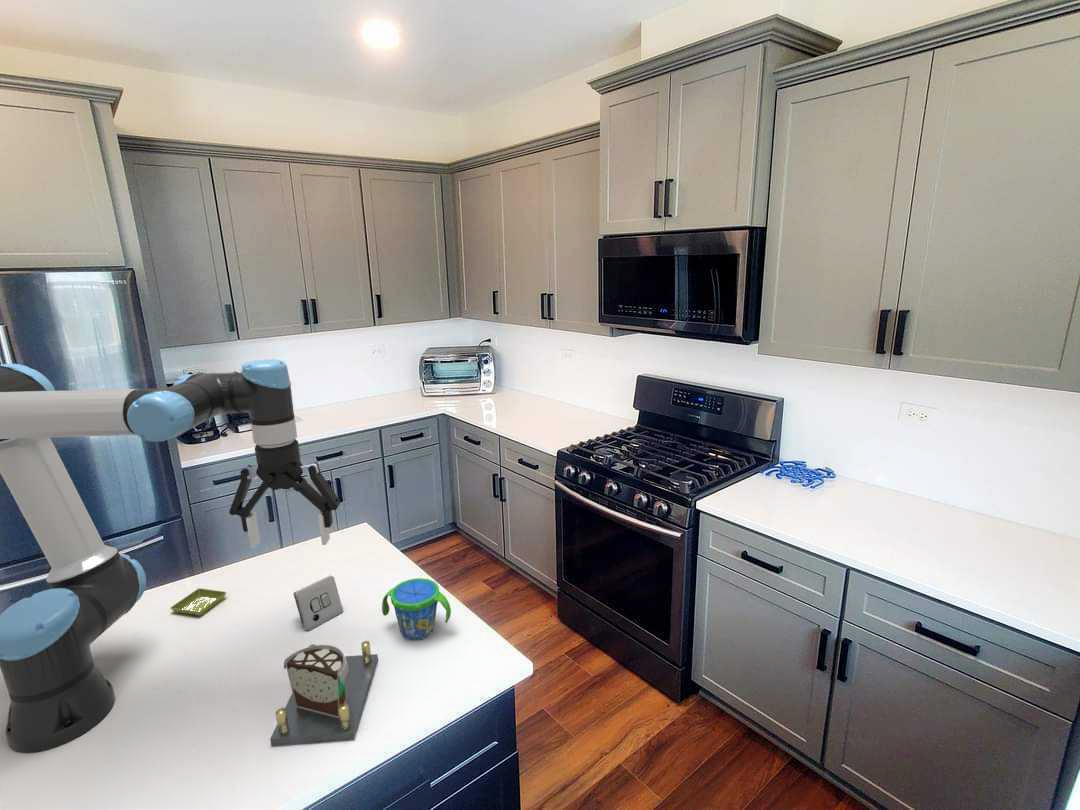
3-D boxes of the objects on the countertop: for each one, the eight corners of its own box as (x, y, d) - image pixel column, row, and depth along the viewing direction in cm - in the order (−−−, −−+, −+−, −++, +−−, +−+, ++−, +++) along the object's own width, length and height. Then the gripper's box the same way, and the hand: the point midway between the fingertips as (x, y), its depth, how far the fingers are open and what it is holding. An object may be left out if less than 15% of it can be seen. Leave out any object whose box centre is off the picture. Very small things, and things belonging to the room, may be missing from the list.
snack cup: (459, 622, 127) (457, 583, 125) (438, 652, 117) (435, 610, 115) (400, 611, 132) (396, 573, 129) (374, 639, 122) (370, 598, 120)
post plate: (271, 746, 95) (266, 719, 94) (309, 664, 114) (306, 642, 113) (354, 739, 96) (350, 713, 95) (378, 660, 115) (375, 637, 114)
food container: (366, 695, 104) (361, 649, 102) (346, 720, 98) (340, 672, 96) (312, 681, 108) (305, 637, 105) (289, 705, 102) (282, 659, 100)
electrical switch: (307, 632, 125) (299, 595, 123) (295, 625, 128) (288, 589, 126) (344, 612, 132) (337, 576, 130) (332, 606, 135) (326, 571, 133)
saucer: (170, 615, 133) (168, 607, 132) (200, 595, 141) (198, 587, 140) (200, 620, 130) (198, 612, 130) (228, 599, 139) (227, 591, 138)
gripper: (348, 433, 109) (359, 531, 114) (217, 438, 107) (234, 537, 113) (338, 445, 102) (350, 549, 107) (197, 451, 100) (216, 556, 105)
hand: (291, 543), depth 110 cm, fingers open, 13 cm apart
